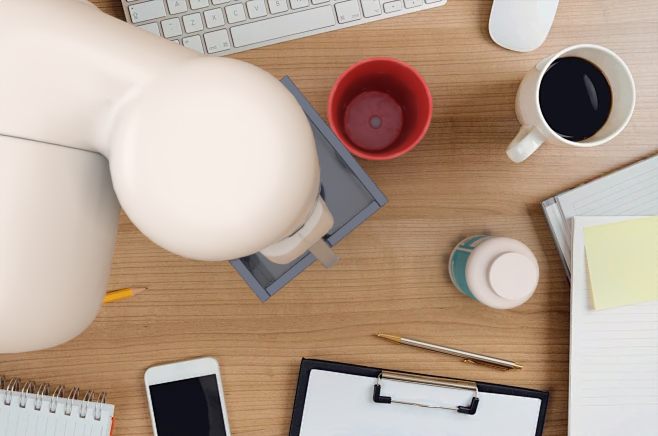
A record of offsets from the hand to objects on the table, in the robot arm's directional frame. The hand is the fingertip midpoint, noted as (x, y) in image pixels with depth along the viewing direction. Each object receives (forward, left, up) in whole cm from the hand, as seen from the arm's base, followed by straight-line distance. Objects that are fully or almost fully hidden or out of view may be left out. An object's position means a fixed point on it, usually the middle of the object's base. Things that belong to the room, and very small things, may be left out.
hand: (279, 191), depth 51 cm
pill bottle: (+20, +12, -22) cm, 32 cm away
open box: (0, 0, -1) cm, 1 cm away
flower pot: (-1, +13, -22) cm, 25 cm away
